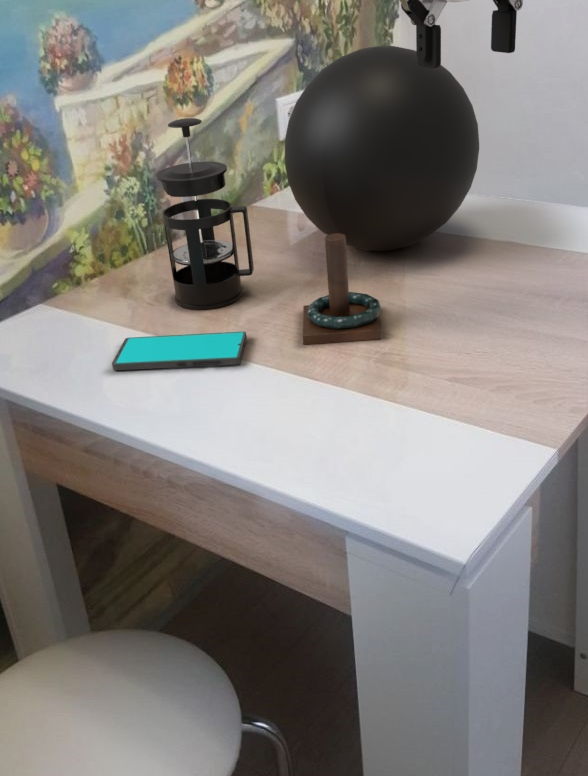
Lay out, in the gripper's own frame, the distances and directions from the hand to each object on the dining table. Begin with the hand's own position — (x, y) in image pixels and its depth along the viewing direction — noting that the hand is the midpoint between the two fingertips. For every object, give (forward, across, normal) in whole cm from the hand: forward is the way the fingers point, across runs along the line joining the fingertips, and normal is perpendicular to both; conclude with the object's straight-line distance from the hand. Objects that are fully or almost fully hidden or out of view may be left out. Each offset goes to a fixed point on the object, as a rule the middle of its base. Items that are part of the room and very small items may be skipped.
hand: (466, 59), depth 93 cm
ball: (+28, +6, +26) cm, 39 cm away
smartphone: (+28, -33, +10) cm, 45 cm away
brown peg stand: (+28, -14, +5) cm, 32 cm away
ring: (+26, -14, +5) cm, 30 cm away
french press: (+28, -23, +25) cm, 44 cm away
